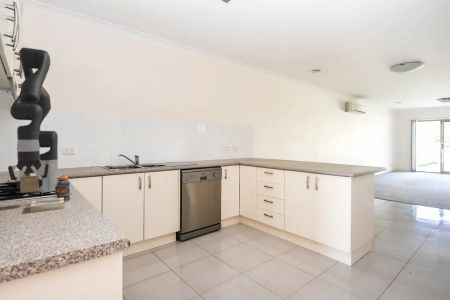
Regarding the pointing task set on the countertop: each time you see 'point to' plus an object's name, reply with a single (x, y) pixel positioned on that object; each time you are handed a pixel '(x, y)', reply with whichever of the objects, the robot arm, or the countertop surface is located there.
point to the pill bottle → (62, 188)
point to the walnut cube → (29, 184)
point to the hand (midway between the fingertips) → (30, 188)
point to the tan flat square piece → (47, 204)
